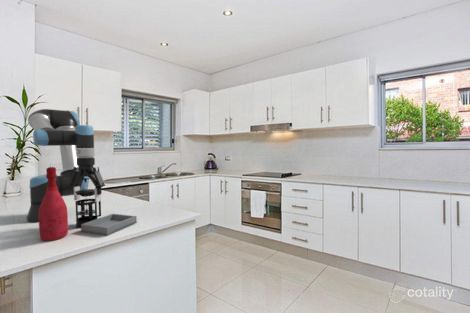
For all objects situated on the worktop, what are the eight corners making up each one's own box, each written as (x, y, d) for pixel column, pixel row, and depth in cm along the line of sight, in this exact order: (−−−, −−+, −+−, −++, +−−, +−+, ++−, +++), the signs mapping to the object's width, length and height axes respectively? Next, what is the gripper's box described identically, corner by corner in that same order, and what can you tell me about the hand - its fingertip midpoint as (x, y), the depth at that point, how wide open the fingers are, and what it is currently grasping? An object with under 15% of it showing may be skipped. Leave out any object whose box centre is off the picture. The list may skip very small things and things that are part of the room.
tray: (81, 232, 111) (81, 224, 110) (113, 220, 128) (112, 213, 127) (107, 235, 106) (106, 227, 106) (136, 223, 123) (136, 216, 123)
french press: (79, 229, 114) (77, 180, 113) (71, 225, 119) (69, 178, 118) (105, 223, 123) (103, 177, 122) (96, 219, 129) (94, 176, 128)
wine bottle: (49, 233, 109) (46, 166, 107) (73, 232, 110) (70, 165, 108) (33, 242, 99) (29, 168, 98) (59, 241, 100) (56, 168, 98)
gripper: (59, 157, 120) (61, 200, 121) (98, 157, 112) (100, 203, 113) (74, 156, 127) (76, 197, 128) (111, 156, 119) (113, 200, 120)
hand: (87, 200), depth 120 cm, fingers open, 13 cm apart
